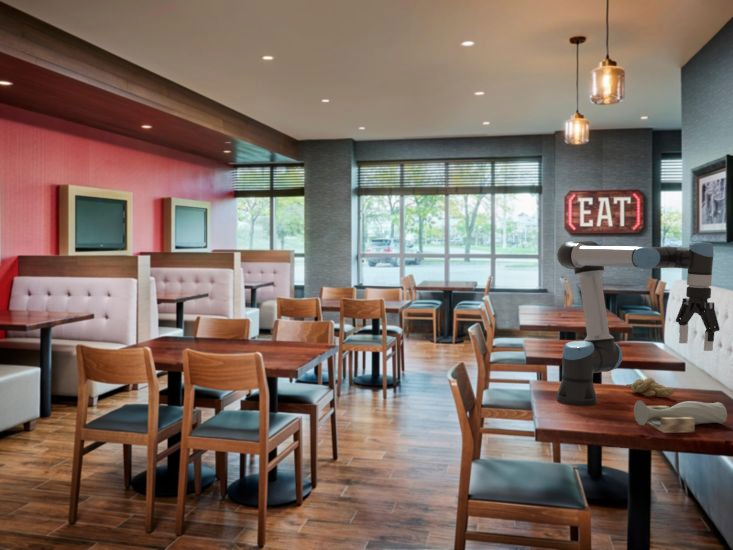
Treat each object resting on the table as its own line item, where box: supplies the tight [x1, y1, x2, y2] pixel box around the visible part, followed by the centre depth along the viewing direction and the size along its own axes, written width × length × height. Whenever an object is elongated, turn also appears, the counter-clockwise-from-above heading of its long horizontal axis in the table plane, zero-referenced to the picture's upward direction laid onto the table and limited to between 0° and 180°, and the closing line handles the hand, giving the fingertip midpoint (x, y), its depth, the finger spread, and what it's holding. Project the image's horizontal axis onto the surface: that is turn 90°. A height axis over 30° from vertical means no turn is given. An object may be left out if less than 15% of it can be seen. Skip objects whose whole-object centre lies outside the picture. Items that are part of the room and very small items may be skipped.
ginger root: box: [625, 377, 675, 398], centre depth 255 cm, size 16×16×8 cm
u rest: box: [645, 405, 696, 434], centre depth 212 cm, size 11×16×5 cm
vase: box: [633, 400, 728, 426], centre depth 213 cm, size 9×8×30 cm
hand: (695, 346), depth 213 cm, fingers open, 13 cm apart
